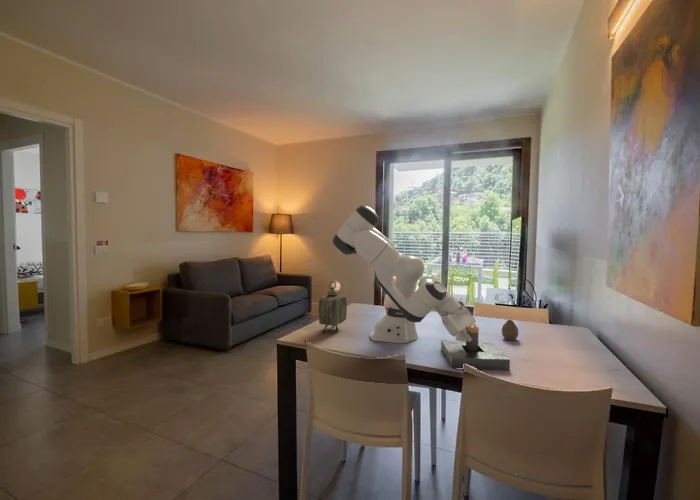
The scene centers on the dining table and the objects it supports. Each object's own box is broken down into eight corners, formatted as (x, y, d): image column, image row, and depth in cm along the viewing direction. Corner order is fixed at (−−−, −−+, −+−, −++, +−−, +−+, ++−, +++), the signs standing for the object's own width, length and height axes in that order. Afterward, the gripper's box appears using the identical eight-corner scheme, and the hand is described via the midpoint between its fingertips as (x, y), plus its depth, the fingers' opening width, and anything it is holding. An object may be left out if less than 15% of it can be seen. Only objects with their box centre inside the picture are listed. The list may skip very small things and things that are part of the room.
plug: (467, 354, 123) (468, 325, 122) (464, 349, 127) (465, 322, 127) (479, 354, 123) (480, 325, 122) (475, 350, 127) (476, 322, 126)
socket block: (452, 368, 116) (452, 358, 116) (441, 349, 136) (441, 339, 136) (509, 370, 114) (509, 359, 114) (489, 350, 134) (490, 340, 134)
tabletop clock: (332, 325, 171) (331, 279, 170) (347, 327, 168) (347, 280, 166) (318, 333, 158) (318, 282, 157) (334, 335, 154) (334, 284, 153)
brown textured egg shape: (520, 342, 144) (520, 322, 144) (503, 341, 145) (504, 322, 145) (515, 337, 151) (516, 318, 150) (499, 336, 152) (500, 318, 152)
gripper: (445, 310, 120) (470, 341, 115) (463, 301, 136) (487, 328, 131) (433, 319, 123) (458, 350, 118) (453, 310, 139) (475, 336, 134)
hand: (473, 338), depth 124 cm, fingers closed on plug, 4 cm apart
